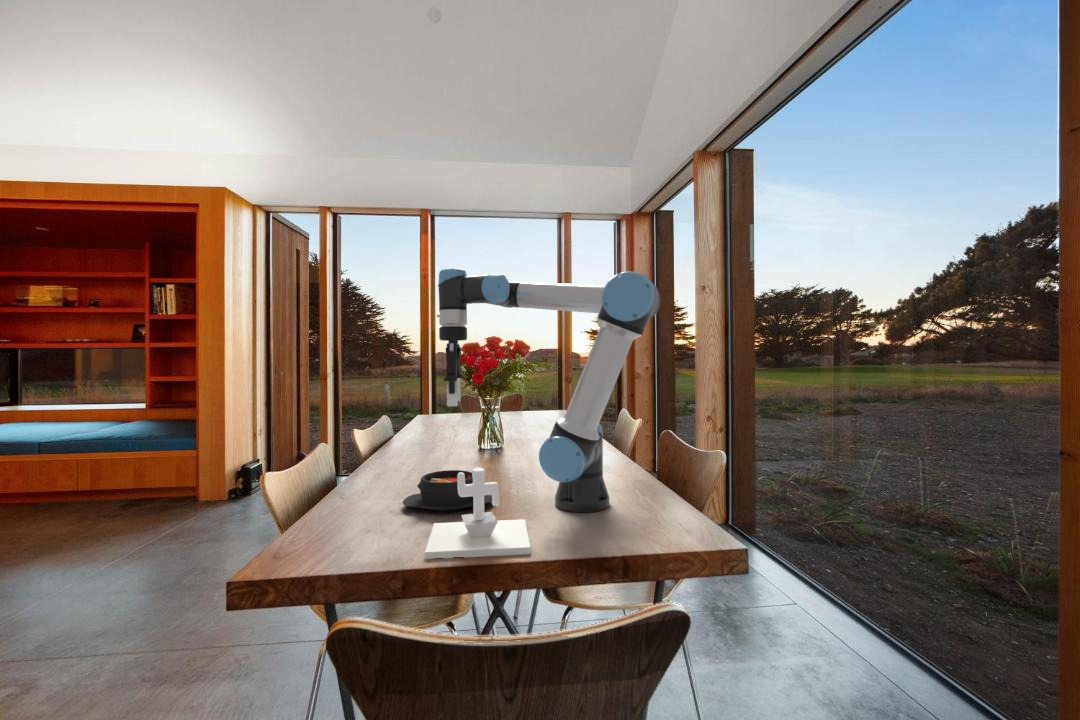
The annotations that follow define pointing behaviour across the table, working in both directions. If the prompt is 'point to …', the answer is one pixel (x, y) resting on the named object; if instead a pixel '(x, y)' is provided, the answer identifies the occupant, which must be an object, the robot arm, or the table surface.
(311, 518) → the table surface
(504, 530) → the board
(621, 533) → the table surface
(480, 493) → the figurine
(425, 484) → the casserole
